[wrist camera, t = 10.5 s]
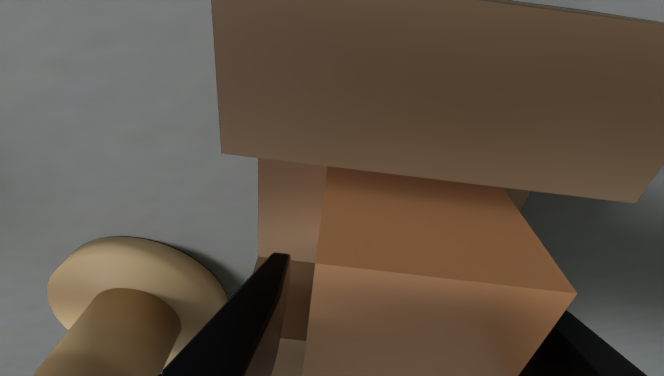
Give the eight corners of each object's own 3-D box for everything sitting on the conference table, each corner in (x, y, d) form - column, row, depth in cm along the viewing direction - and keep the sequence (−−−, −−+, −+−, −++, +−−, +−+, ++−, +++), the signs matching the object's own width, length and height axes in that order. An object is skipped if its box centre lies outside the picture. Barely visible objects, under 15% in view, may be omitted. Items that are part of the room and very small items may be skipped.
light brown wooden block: (436, 256, 12) (485, 420, 7) (318, 243, 12) (299, 400, 7) (476, 150, 9) (576, 293, 5) (331, 132, 9) (315, 263, 5)
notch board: (452, 314, 15) (483, 417, 11) (264, 292, 14) (237, 390, 11) (592, 11, 8) (753, 36, 5) (267, -32, 8) (209, -35, 5)
